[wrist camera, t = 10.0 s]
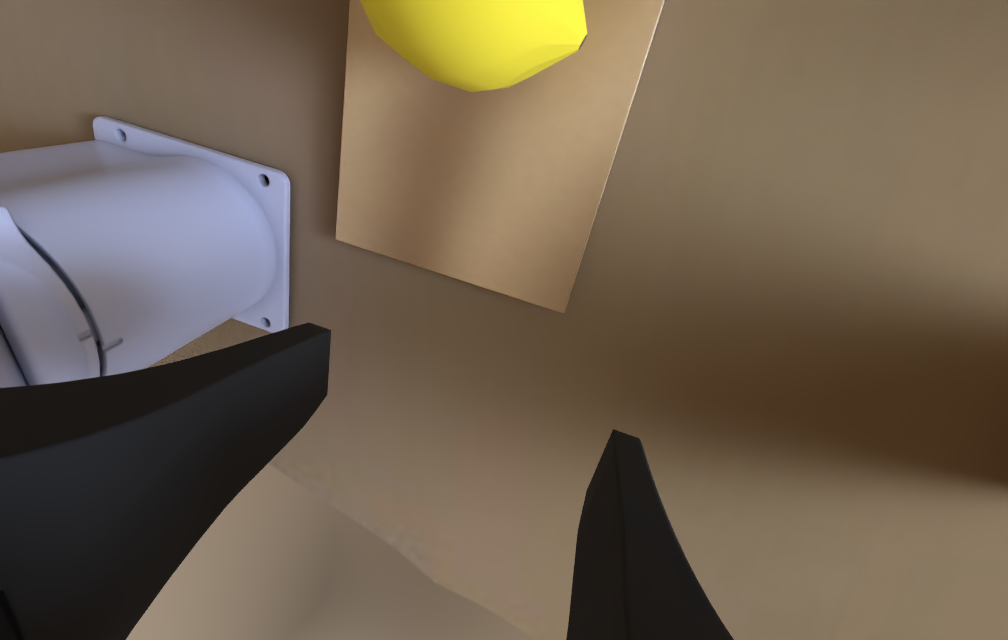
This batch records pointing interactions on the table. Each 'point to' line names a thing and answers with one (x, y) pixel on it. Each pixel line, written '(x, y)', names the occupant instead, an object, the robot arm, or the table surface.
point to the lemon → (479, 37)
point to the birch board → (488, 157)
